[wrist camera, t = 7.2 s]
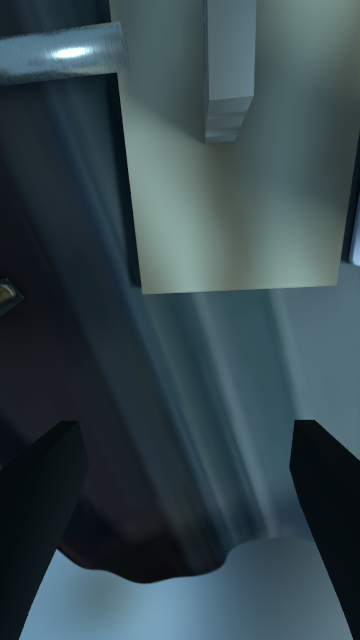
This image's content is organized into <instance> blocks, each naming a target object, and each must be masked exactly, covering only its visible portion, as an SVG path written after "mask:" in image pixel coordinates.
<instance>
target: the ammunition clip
mask: <svg viewBox="0 0 360 640" xmlns="http://www.w3.org/2000/svg"><path fill="white" fill-rule="evenodd" d="M24 299H25V298H24V296H23V295H22V294H21V293H20V292H19V291H18V289H17V288H16V287H15V286H14V285H13V283H12V282H11V281H10V280H9V279H8V278H7V277H5V278H1V279H0V316H2V315H3V314H5V313H6V312H7V311H9V310H10V309H11V308H13V307H14V306H15V305H17V304H18V303H19V302H21V301H22V300H24Z"/></svg>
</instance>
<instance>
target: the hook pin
mask: <svg viewBox="0 0 360 640" xmlns="http://www.w3.org/2000/svg"><path fill="white" fill-rule="evenodd" d="M129 69H130V62H129V52H128V46H127V40H126V35H125V31H124V28H123V25H122V22H121V21H117V22H110V23H102V24H95V25H87V26H80V27H73V28H65V29H58V30H50V31H43V32H36V33H28V34H21V35H13V36H6V37H0V86H5V85H14V84H22V83H31V82H39V81H47V80H56V79H64V78H73V77H81V76H90V75H98V74H107V73H115V72H124V71H129Z"/></svg>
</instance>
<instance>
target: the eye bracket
mask: <svg viewBox="0 0 360 640" xmlns="http://www.w3.org/2000/svg"><path fill="white" fill-rule="evenodd" d="M109 6H110V14H111V22H117V21H121V22H122V25H123V28H124V31H125V35H126V40H127V46H128V52H129V62H130V69H129V71H124V72H117V75H118V84H119V93H120V102H121V110H122V119H123V128H124V137H125V145H126V154H127V163H128V172H129V180H130V189H131V198H132V207H133V215H134V224H135V233H136V241H137V250H138V259H139V268H140V276H141V285H142V294H158V293H180V292H202V291H224V290H247V289H269V288H291V287H313V286H335V285H337V279H338V272H339V265H340V259H341V252H342V245H343V238H344V232H345V225H346V218H347V212H348V205H349V198H350V192H351V185H352V178H353V171H354V165H355V158H356V151H357V145H358V138H359V131H360V0H109Z"/></svg>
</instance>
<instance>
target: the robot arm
mask: <svg viewBox="0 0 360 640" xmlns="http://www.w3.org/2000/svg"><path fill="white" fill-rule="evenodd" d="M349 261H350V263H351V264H352V265H356V266H360V192H359V198H358V205H357V211H356V217H355V223H354V230H353V236H352V242H351V248H350V255H349ZM88 468H89V462H88V457H87V453H86V449H85V445H84V441H83V437H82V433H81V429H80V425H79V421H61V422H59V423H58V424H57V425H55V426H54V427H53V428H52V429H50V430H49V431H48V432H47V433H45V434H44V435H43V436H42V437H40V438H39V439H38V440H37V441H36V442H34V443H33V444H32V445H31V446H29V447H28V448H27V449H26V450H25V451H23V452H22V453H21V454H20V455H18V456H17V457H16V458H15V459H13V460H12V461H11V462H10V463H8V464H7V465H6V466H5V467H3V468H2V469H1V470H0V640H19V637H20V635H21V632H22V630H23V627H24V624H25V621H26V619H27V616H28V613H29V610H30V608H31V605H32V603H33V601H34V598H35V596H36V594H37V591H38V589H39V586H40V584H41V582H42V580H43V577H44V575H45V573H46V571H47V569H48V566H49V564H50V562H51V560H52V557H53V555H54V553H55V551H56V549H57V546H58V544H59V542H60V540H61V537H62V535H63V533H64V531H65V529H66V526H67V524H68V522H69V520H70V517H71V515H72V513H73V511H74V508H75V506H76V504H77V501H78V499H79V496H80V493H81V490H82V487H83V484H84V481H85V478H86V475H87V472H88ZM289 468H290V472H291V475H292V479H293V482H294V486H295V489H296V493H297V496H298V499H299V502H300V505H301V508H302V510H303V513H304V515H305V518H306V520H307V523H308V525H309V528H310V530H311V533H312V535H313V538H314V540H315V543H316V545H317V548H318V550H319V552H320V555H321V557H322V560H323V562H324V565H325V567H326V570H327V572H328V575H329V577H330V580H331V582H332V584H333V587H334V589H335V592H336V594H337V597H338V599H339V602H340V604H341V607H342V610H343V612H344V615H345V617H346V620H347V623H348V626H349V628H350V631H351V634H352V637H353V640H360V461H359V460H358V459H357V458H356V457H355V456H354V455H353V454H352V453H351V452H349V451H348V450H347V449H346V448H345V447H344V446H343V445H342V444H341V443H339V442H338V441H337V440H336V439H335V438H334V437H333V436H332V435H331V434H330V433H329V432H327V431H326V430H325V429H324V428H323V427H322V426H321V425H320V424H319V423H318V422H316V421H315V420H295V422H294V431H293V440H292V448H291V457H290V466H289Z"/></svg>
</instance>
